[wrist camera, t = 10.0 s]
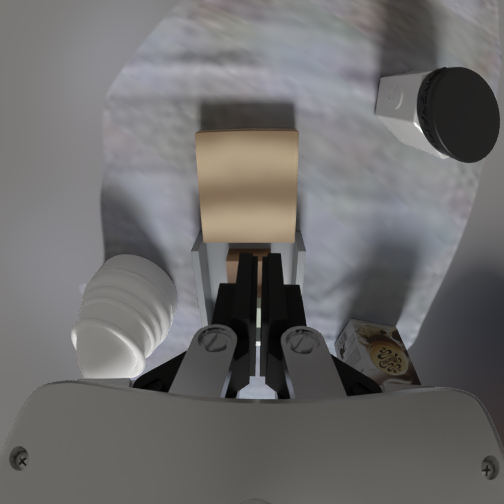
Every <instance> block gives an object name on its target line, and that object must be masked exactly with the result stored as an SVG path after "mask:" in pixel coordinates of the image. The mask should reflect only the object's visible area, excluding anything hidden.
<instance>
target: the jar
mask: <svg viewBox="0 0 504 504" xmlns="http://www.w3.org/2000/svg"><path fill="white" fill-rule="evenodd" d="M375 116H376V117H377V118H378V119H379V120H380V121H381V122H382V123H383V124H384V125H385V126H386V127H387V128H388V129H389V130H390V131H391V132H392V133H393V134H394V135H395V136H396V137H397V138H398V140H399V141H400V142H402V143H405V144H407V145H410V146H413V147H415V148H418V149H420V150H423V151H425V152H428V153H430V154H432V155H435V156H437V157H439V158H442V159H445V158H448V157H451V158H454V159H456V160H458V161H461V162H465V163H473V162H477V161H480V160H481V159H483V158H484V157H486V156H487V155H488V154H489V153H490V151H491V150H492V149H493V147H494V145H495V143H496V141H497V137H498V134H499V128H500V115H499V108H498V104H497V101H496V98H495V96H494V93H493V92H492V90H491V88H490V86H489V85H488V84H487V82H486V81H485V80H484V79H483V78H482V77H481V76H480V75H479V74H477V73H476V72H474V71H472V70H470V69H467V68H463V67H448V68H446V67H443V68H434V69H423V70H414V71H408V72H403V73H399V74H394V75H390V76H386V77H382V78H380V84H379V91H378V98H377V104H376V111H375Z"/></svg>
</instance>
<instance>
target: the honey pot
mask: <svg viewBox="0 0 504 504" xmlns="http://www.w3.org/2000/svg"><path fill="white" fill-rule="evenodd" d="M177 305H178V295H177V291H176V288H175V286H174V283H173V282H172V280H171V279H170V278H169V276H168V275H167V273H166V272H165V271H163V270H162V269H161V268H160V267H159V266H158V265H156V264H155V263H153V262H151V261H150V260H148V259H146V258H143V257H140V256H137V255H129V254H122V255H117V256H113V257H112V258H110V259H108V260H107V261H106V262H105V263H104V264H103V265H102V267H101V268H100V269H99V270H98V272H97V273H96V274H95V275H94V277H93V278H92V279H91V281H90V282H89V283H88V284H87V286H86V288H85V291H84V294H83V301H82V304H81V308H80V311H79V321H77V322H76V323H75V324H74V326H73V327H72V331H71V338H72V343H73V345H74V347H75V349H76V352H77V361H78V366H79V370H80V373H81V374H82V376H83V379H84V378H132V377H136V376H138V375H139V374H141V373H142V371H143V370H144V368H145V363H146V359H145V358H147V357H148V356H150V355H151V353H152V352H153V350H154V349H156V347H157V346H158V345H159V344H160V343H162V342H163V340H164V339H165V337H166V336H167V334H168V333H169V329H170V326H171V324H172V321H173V318H174V316H175V313H176V310H177Z"/></svg>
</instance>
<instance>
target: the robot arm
mask: <svg viewBox="0 0 504 504" xmlns="http://www.w3.org/2000/svg"><path fill="white" fill-rule="evenodd" d="M257 286H258V256H253V253H248V252H240V254H239V262H238V269H237V277H236V283H220V284H219V288H218V293H217V298H216V303H215V308H214V313H213V318H212V323H211V325H207V326H205V327H203V328H201V329H200V330H198V331H197V332H196V334H195V335H194V337H193V339H192V341H191V343H190V346H189V348H188V350H187V351H185V352H184V353H182V354H180V355H178V356H176V357H175V358H173V359H171V360H169V361H167V362H166V363H164V364H162V365H160V366H158V367H156V368H155V369H153V370H151V371H149V372H147V373H145V374H143V375H142V376H140V377H139V378H138V379H137V380H134V381H131V379H130V378H84V379H79V380H65V381H57V382H52V383H48V384H45V385H42V386H41V387H38V388H37V389H36V390H35V391H34V392H33V393H32V394H31V395H30V396H29V397H28V399H27V400H26V402H25V403H24V405H23V406H22V408H21V410H20V411H19V413H18V415H17V417H16V419H15V421H14V423H13V425H12V427H11V429H10V431H9V433H8V436H7V438H6V441H5V443H4V446H3V449H2V451H1V454H0V504H504V449H503V446H502V443H501V441H500V438H499V436H498V433H497V430H496V428H495V426H494V424H493V422H492V419H491V417H490V416H489V414H488V412H487V410H486V409H485V407H484V405H483V404H482V403H481V401H480V400H479V399H478V398H477V397H475V396H474V395H472V394H471V393H468V392H466V391H462V390H457V389H452V388H439V387H434V386H428V385H408V384H392V383H385V384H384V386H381V385H378V383H376V382H375V381H374V380H373V379H371V378H369V377H368V376H366V375H364V374H363V373H361V372H359V371H358V370H356V369H354V368H353V367H351V366H349V365H348V364H346V363H345V362H343V361H341V360H340V359H338V358H336V357H335V356H333V355H332V354H330V352H329V350H328V347H327V345H326V342H325V340H324V338H323V336H322V335H321V333H319V332H318V331H317V330H315V329H313V328H311V327H307V325H306V319H305V313H304V307H303V301H302V295H301V289H300V285H299V284H284V278H283V268H282V259H281V253H268V254H267V256H262V285H261V328H260V376H265V384H267V385H268V386H269V387H270V388H272V389H273V390H274V391H275V399H239V392H240V391H239V390H241V389H242V388H244V387H245V386H246V385H248V384H249V379H250V376H255V366H256V329H257Z"/></svg>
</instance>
